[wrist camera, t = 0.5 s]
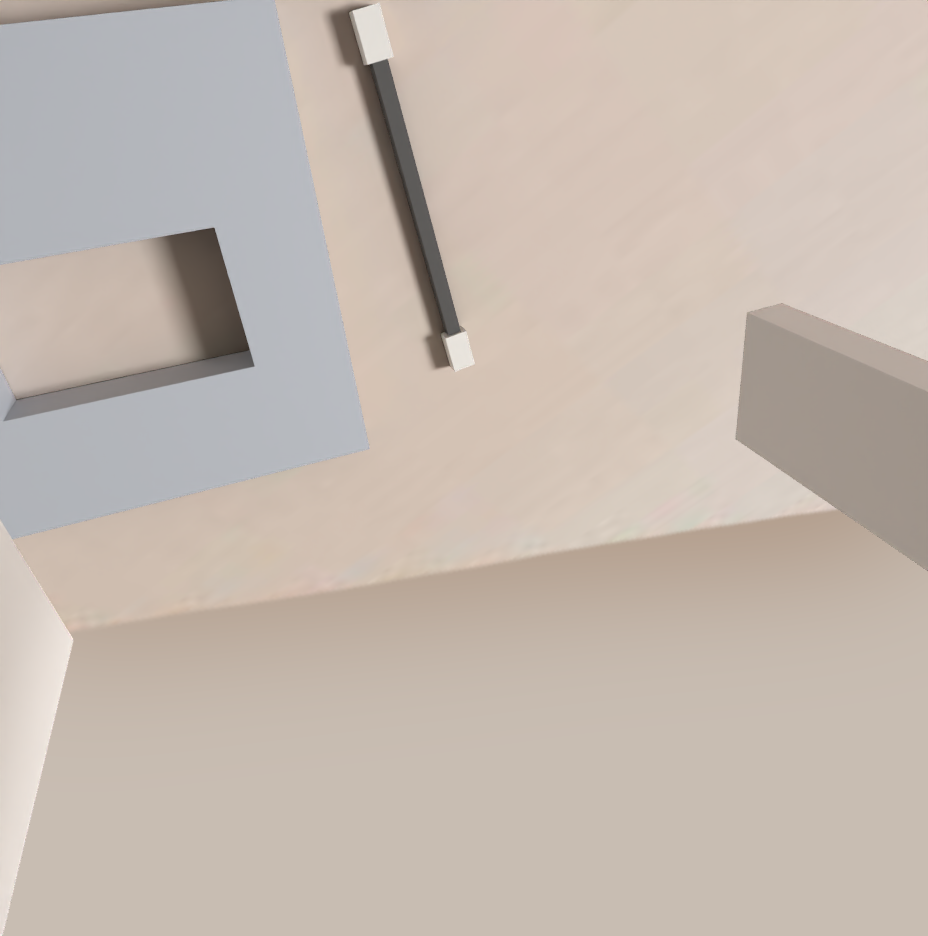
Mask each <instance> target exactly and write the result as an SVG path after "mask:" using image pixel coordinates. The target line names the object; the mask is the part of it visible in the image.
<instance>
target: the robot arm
mask: <svg viewBox="0 0 928 936" xmlns="http://www.w3.org/2000/svg"><path fill="white" fill-rule="evenodd" d="M736 440H738V441H739V442H741V443H742V444H744V445H745V446H747V447H748V448H750V449H751V450H752V451H754V452H755V453H757V454H758V455H760V456H761V457H763V458H764V459H765V460H767V461H768V462H770V463H771V464H773V465H774V466H776V467H777V468H779V469H780V470H781V471H783V472H784V473H786V474H787V475H789V476H790V477H792V478H793V479H795V480H796V481H797V482H799V483H800V484H802V485H803V486H805V487H806V488H808V489H809V490H811V491H812V492H813V493H815V494H816V495H818V496H819V497H821V498H822V499H824V500H825V501H827V502H828V503H829V504H831V505H832V506H834V507H835V508H837V509H838V510H840V511H841V512H843V513H844V514H845V515H847V516H848V517H850V518H851V519H853V520H854V521H856V522H857V523H859V524H860V525H861V526H863V527H864V528H866V529H867V530H869V531H870V532H872V533H873V534H875V535H876V536H877V537H879V538H880V539H882V540H883V541H885V542H886V543H888V544H889V545H891V546H892V547H893V548H895V549H896V550H898V551H899V552H901V553H902V554H904V555H905V556H907V557H908V558H909V559H911V560H912V561H914V562H915V563H917V564H918V565H920V566H921V567H923V568H924V569H925V570H927V571H928V361H926V360H924V359H921V358H919V357H916V356H914V355H911V354H909V353H906V352H903V351H901V350H898V349H896V348H893V347H891V346H888V345H886V344H883V343H881V342H878V341H876V340H873V339H871V338H868V337H866V336H863V335H861V334H858V333H855V332H853V331H850V330H848V329H845V328H843V327H840V326H838V325H835V324H833V323H830V322H828V321H825V320H823V319H820V318H818V317H815V316H813V315H810V314H808V313H805V312H802V311H800V310H797V309H795V308H792V307H790V306H787V305H785V304H782V303H781V304H777V305H773V306H770V307H766V308H762V309H758V310H754V311H751V312H747V319H746V330H745V341H744V352H743V363H742V374H741V385H740V396H739V407H738V418H737V429H736ZM72 644H73V638H72V637H71V635H70V633H69V632H68V630H67V628H66V627H65V625H64V623H63V622H62V620H61V618H60V617H59V615H58V614H57V612H56V610H55V609H54V607H53V605H52V604H51V602H50V600H49V599H48V597H47V595H46V594H45V592H44V591H43V589H42V587H41V586H40V584H39V582H38V581H37V579H36V577H35V576H34V574H33V573H32V571H31V569H30V568H29V566H28V564H27V563H26V561H25V559H24V558H23V556H22V554H21V553H20V551H19V550H18V548H17V546H16V545H15V543H14V541H13V540H12V538H11V536H10V535H9V533H8V532H7V530H6V528H5V527H4V525H3V523H2V522H1V520H0V936H3V931H4V927H5V923H6V919H7V915H8V910H9V906H10V902H11V898H12V894H13V889H14V886H15V881H16V877H17V873H18V869H19V865H20V861H21V856H22V852H23V848H24V844H25V840H26V836H27V831H28V827H29V823H30V819H31V815H32V811H33V806H34V802H35V798H36V794H37V790H38V785H39V781H40V777H41V773H42V769H43V765H44V760H45V756H46V752H47V748H48V744H49V740H50V735H51V731H52V727H53V723H54V719H55V715H56V711H57V706H58V702H59V698H60V694H61V690H62V686H63V681H64V677H65V673H66V669H67V664H68V660H69V656H70V652H71V648H72Z"/></svg>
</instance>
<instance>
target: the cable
mask: <svg viewBox="0 0 928 936" xmlns="http://www.w3.org/2000/svg"><path fill="white" fill-rule="evenodd" d="M349 15H350V18H351V22H352V25H353V29H354V32H355V36H356V39H357V43H358V46H359V50H360V53H361V57H362V60H363V64H364V65H370V68H371V72H372V75H373V79H374V82H375V86H376V89H377V93H378V96H379V100H380V104H381V107H382V111H383V114H384V118H385V121H386V125H387V128H388V132H389V135H390V139H391V143H392V146H393V150H394V153H395V157H396V160H397V164H398V167H399V171H400V174H401V178H402V181H403V185H404V189H405V192H406V196H407V199H408V203H409V206H410V210H411V213H412V217H413V220H414V224H415V228H416V231H417V235H418V238H419V242H420V245H421V249H422V252H423V256H424V259H425V263H426V266H427V270H428V274H429V277H430V281H431V284H432V288H433V291H434V295H435V298H436V302H437V305H438V309H439V313H440V316H441V320H442V323H443V327H444V330H445V332H444V333H441V336H442V340H443V343H444V347H445V350H446V354H447V357H448V361H449V364H450V367H451V368H452V369H453V370H454V371H455V372H456V371H458V370H461V369H464V368H466V367H469V366H471V365H474V364H475V363H474V359H473V355H472V351H471V347H470V344H469V340H468V336H467V332H466V330H465V329H464V328H463V327H461V326H460V327H459V323H458V319H457V316H456V312H455V308H454V305H453V301H452V297H451V293H450V290H449V286H448V282H447V278H446V275H445V271H444V267H443V264H442V260H441V256H440V252H439V249H438V245H437V241H436V238H435V234H434V230H433V226H432V223H431V219H430V215H429V211H428V208H427V204H426V200H425V197H424V193H423V189H422V185H421V182H420V178H419V174H418V171H417V167H416V163H415V159H414V156H413V152H412V148H411V144H410V141H409V137H408V133H407V130H406V126H405V122H404V118H403V115H402V111H401V107H400V104H399V100H398V96H397V92H396V89H395V85H394V81H393V77H392V74H391V70H390V66H389V63H388V58H392V57H394V56H393V52H392V48H391V44H390V40H389V37H388V33H387V29H386V25H385V22H384V18H383V14H382V10H381V6H380V3H377V4H374V5H370V6H367V7H363V8H360V9H357V10H353V11H351V12H349Z"/></svg>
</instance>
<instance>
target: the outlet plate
mask: <svg viewBox="0 0 928 936" xmlns="http://www.w3.org/2000/svg"><path fill="white" fill-rule="evenodd" d="M208 228H215V231H216V235H217V238H218V242H219V245H220V249H221V252H222V255H223V259H224V262H225V266H226V269H227V273H228V276H229V279H230V283H231V286H232V290H233V293H234V297H235V300H236V304H237V307H238V310H239V314H240V317H241V321H242V324H243V328H244V331H245V335H246V338H247V341H248V345H249V348H250V350H248V351H244V352H239V353H234V354H230V355H225V356H220V357H216V358H211V359H206V360H202V361H197V362H192V363H188V364H183V365H178V366H174V367H169V368H164V369H159V370H155V371H150V372H145V373H141V374H136V375H131V376H127V377H122V378H117V379H113V380H108V381H103V382H99V383H94V384H89V385H85V386H80V387H75V388H70V389H66V390H61V391H56V392H52V393H47V394H42V395H38V396H33V397H28V398H24V399H19V400H16V399H15V397H14V395H13V393H12V391H11V389H10V387H9V385H8V382H7V380H6V378H5V376H4V374H3V372H2V370H1V368H0V520H1V522H2V523H3V525H4V527H5V528H6V530H7V532H8V533H9V535H10V536H11V538H12V539H15V538H19V537H23V536H27V535H31V534H35V533H39V532H43V531H47V530H51V529H55V528H59V527H63V526H67V525H71V524H75V523H79V522H82V521H86V520H90V519H94V518H98V517H102V516H106V515H110V514H114V513H118V512H122V511H126V510H130V509H134V508H138V507H142V506H146V505H150V504H154V503H158V502H162V501H166V500H170V499H174V498H178V497H181V496H185V495H189V494H193V493H197V492H201V491H205V490H209V489H213V488H217V487H221V486H225V485H229V484H233V483H237V482H241V481H245V480H249V479H253V478H257V477H261V476H265V475H269V474H273V473H277V472H280V471H284V470H288V469H292V468H296V467H300V466H304V465H308V464H312V463H316V462H320V461H324V460H328V459H332V458H336V457H340V456H344V455H348V454H352V453H356V452H360V451H364V450H368V449H370V448H369V443H368V439H367V434H366V429H365V425H364V420H363V415H362V410H361V406H360V401H359V396H358V392H357V387H356V382H355V377H354V373H353V368H352V363H351V358H350V354H349V349H348V344H347V340H346V335H345V330H344V325H343V321H342V316H341V311H340V307H339V302H338V297H337V292H336V288H335V283H334V278H333V274H332V269H331V264H330V259H329V255H328V250H327V245H326V241H325V236H324V231H323V226H322V222H321V217H320V212H319V208H318V203H317V198H316V193H315V189H314V184H313V179H312V175H311V170H310V165H309V160H308V156H307V151H306V146H305V142H304V137H303V132H302V127H301V123H300V118H299V113H298V109H297V104H296V99H295V94H294V90H293V85H292V80H291V75H290V71H289V66H288V61H287V57H286V52H285V47H284V42H283V38H282V33H281V28H280V24H279V19H278V14H277V9H276V5H275V0H227V1H218V2H208V3H199V4H190V5H180V6H171V7H162V8H152V9H143V10H134V11H124V12H115V13H106V14H96V15H87V16H78V17H68V18H59V19H50V20H41V21H31V22H22V23H13V24H3V25H0V265H2V264H7V263H13V262H19V261H25V260H30V259H36V258H42V257H47V256H53V255H59V254H65V253H70V252H76V251H82V250H88V249H93V248H99V247H105V246H110V245H116V244H122V243H128V242H133V241H139V240H145V239H151V238H156V237H162V236H168V235H173V234H179V233H185V232H191V231H196V230H202V229H208Z"/></svg>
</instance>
